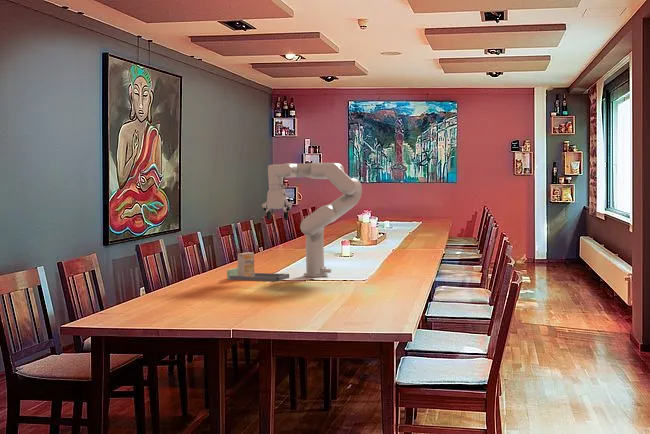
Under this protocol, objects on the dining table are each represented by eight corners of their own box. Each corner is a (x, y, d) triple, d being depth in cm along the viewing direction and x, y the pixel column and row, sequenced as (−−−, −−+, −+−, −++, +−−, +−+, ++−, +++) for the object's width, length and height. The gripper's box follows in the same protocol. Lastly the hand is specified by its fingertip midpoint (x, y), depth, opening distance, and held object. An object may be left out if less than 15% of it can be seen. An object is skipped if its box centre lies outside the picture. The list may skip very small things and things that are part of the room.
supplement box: (244, 279, 406) (243, 253, 405) (237, 278, 409) (237, 253, 408) (255, 276, 412) (254, 252, 412) (248, 276, 415) (247, 251, 414)
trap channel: (289, 277, 408) (288, 268, 408) (278, 281, 396) (278, 271, 396) (239, 276, 419) (238, 266, 419) (227, 279, 407) (227, 270, 407)
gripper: (293, 186, 416) (295, 218, 417) (264, 187, 422) (265, 219, 423) (288, 187, 409) (289, 219, 410) (258, 188, 415) (259, 220, 416)
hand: (277, 219), depth 416 cm, fingers open, 9 cm apart
